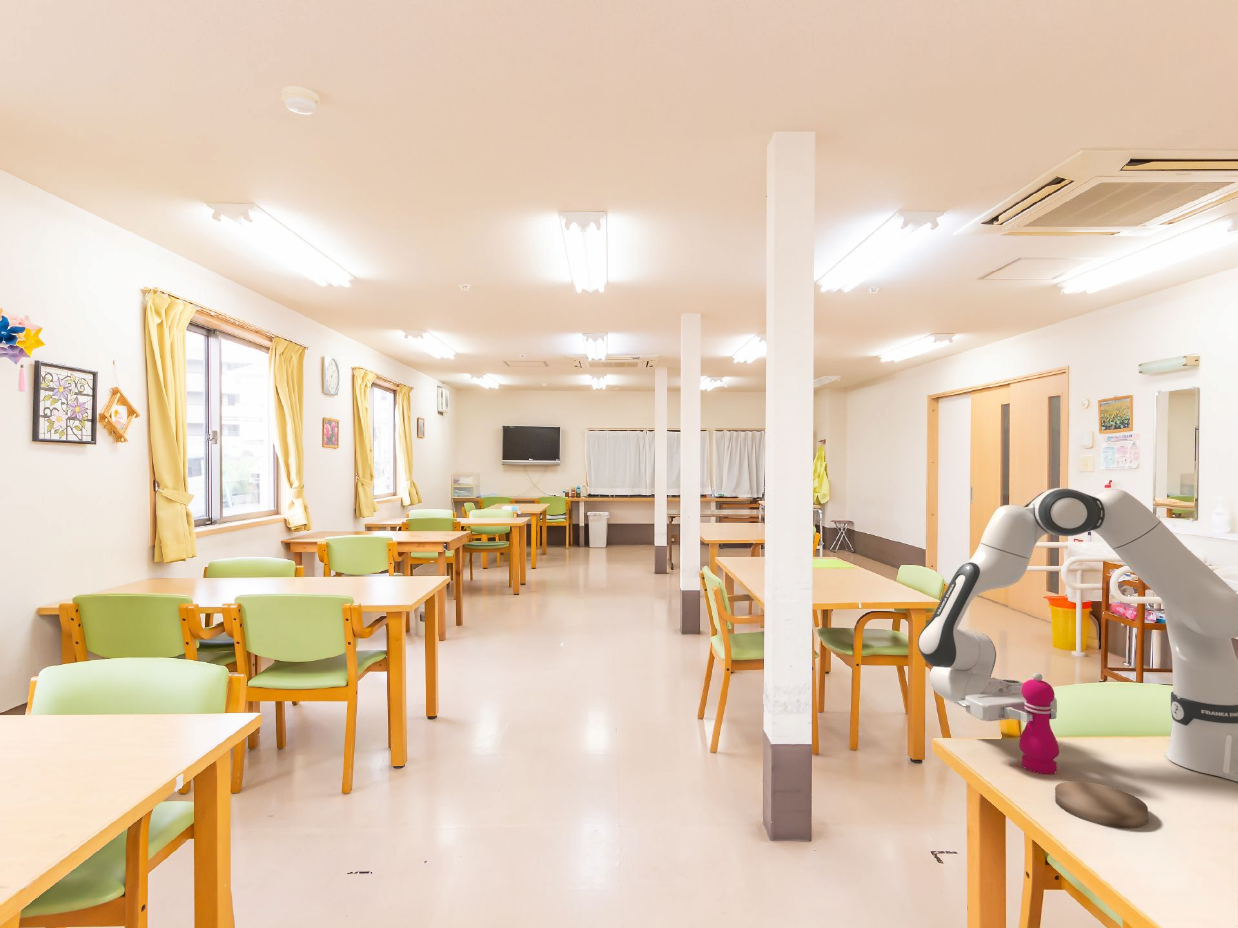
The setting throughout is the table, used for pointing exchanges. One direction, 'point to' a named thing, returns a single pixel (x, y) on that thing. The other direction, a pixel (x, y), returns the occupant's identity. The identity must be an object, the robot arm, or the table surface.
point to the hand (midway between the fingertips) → (1041, 716)
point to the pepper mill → (1038, 728)
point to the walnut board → (1101, 804)
